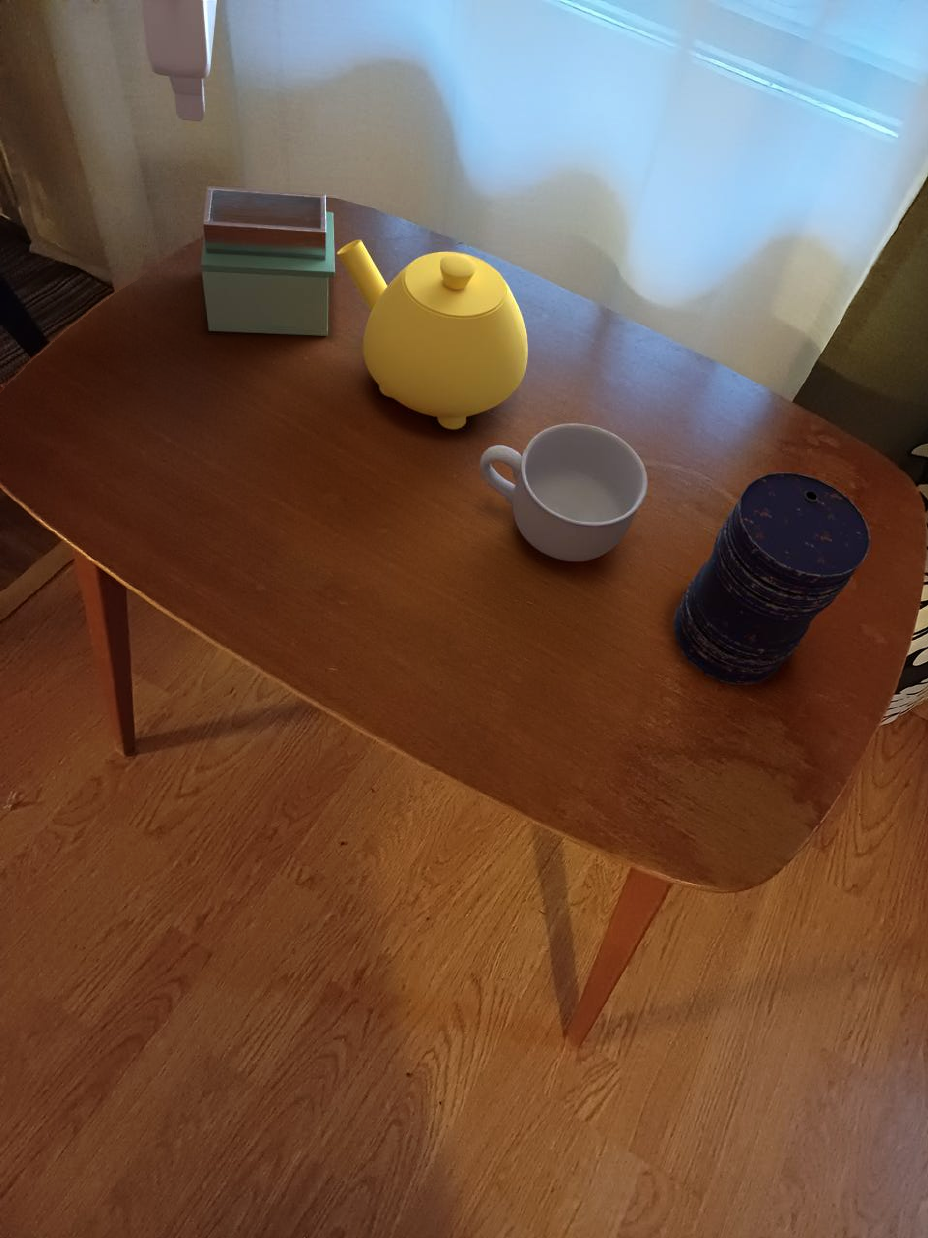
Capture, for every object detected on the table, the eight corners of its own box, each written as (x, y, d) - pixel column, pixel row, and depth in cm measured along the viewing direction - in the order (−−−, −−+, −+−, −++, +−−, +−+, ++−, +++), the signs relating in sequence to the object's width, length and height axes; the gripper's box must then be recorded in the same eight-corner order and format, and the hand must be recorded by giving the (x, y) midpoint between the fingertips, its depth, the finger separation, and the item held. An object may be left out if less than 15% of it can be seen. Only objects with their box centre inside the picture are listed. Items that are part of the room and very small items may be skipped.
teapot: (292, 371, 90) (288, 245, 78) (383, 294, 98) (391, 170, 87) (466, 466, 86) (489, 348, 74) (546, 377, 94) (577, 259, 83)
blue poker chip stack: (772, 704, 75) (860, 598, 63) (658, 657, 76) (723, 543, 64) (794, 615, 81) (880, 501, 68) (688, 572, 82) (753, 452, 70)
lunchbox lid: (333, 218, 93) (333, 211, 92) (334, 278, 88) (334, 271, 87) (207, 209, 91) (206, 203, 90) (201, 270, 86) (200, 264, 85)
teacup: (638, 515, 85) (665, 453, 78) (599, 599, 79) (624, 540, 72) (501, 456, 87) (516, 391, 80) (452, 533, 81) (464, 470, 74)
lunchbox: (326, 276, 98) (326, 217, 93) (327, 336, 93) (328, 277, 88) (214, 270, 97) (207, 210, 91) (208, 331, 91) (201, 271, 86)
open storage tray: (206, 252, 86) (203, 223, 84) (209, 214, 89) (207, 185, 87) (325, 260, 88) (326, 231, 85) (325, 222, 91) (325, 194, 89)
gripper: (224, -87, 49) (236, 165, 60) (236, -214, 60) (244, 18, 71) (98, -104, 48) (134, 156, 59) (134, -230, 59) (159, 8, 70)
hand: (195, 79), depth 65 cm, fingers open, 8 cm apart
